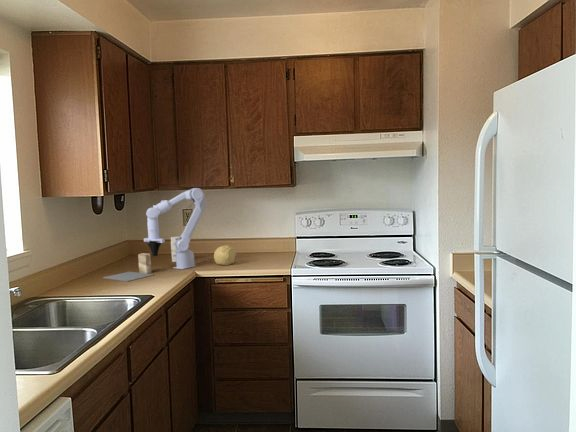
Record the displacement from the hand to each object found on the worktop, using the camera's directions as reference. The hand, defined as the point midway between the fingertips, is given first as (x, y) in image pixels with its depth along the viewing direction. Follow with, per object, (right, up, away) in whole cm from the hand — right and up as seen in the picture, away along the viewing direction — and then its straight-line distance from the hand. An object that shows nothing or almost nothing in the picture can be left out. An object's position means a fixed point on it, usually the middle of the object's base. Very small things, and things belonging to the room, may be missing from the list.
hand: (155, 255), depth 265 cm
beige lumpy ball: (+36, -6, +10) cm, 38 cm away
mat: (-10, -9, -13) cm, 19 cm away
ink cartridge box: (+7, -6, +29) cm, 31 cm away
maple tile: (-4, -9, -5) cm, 11 cm away
